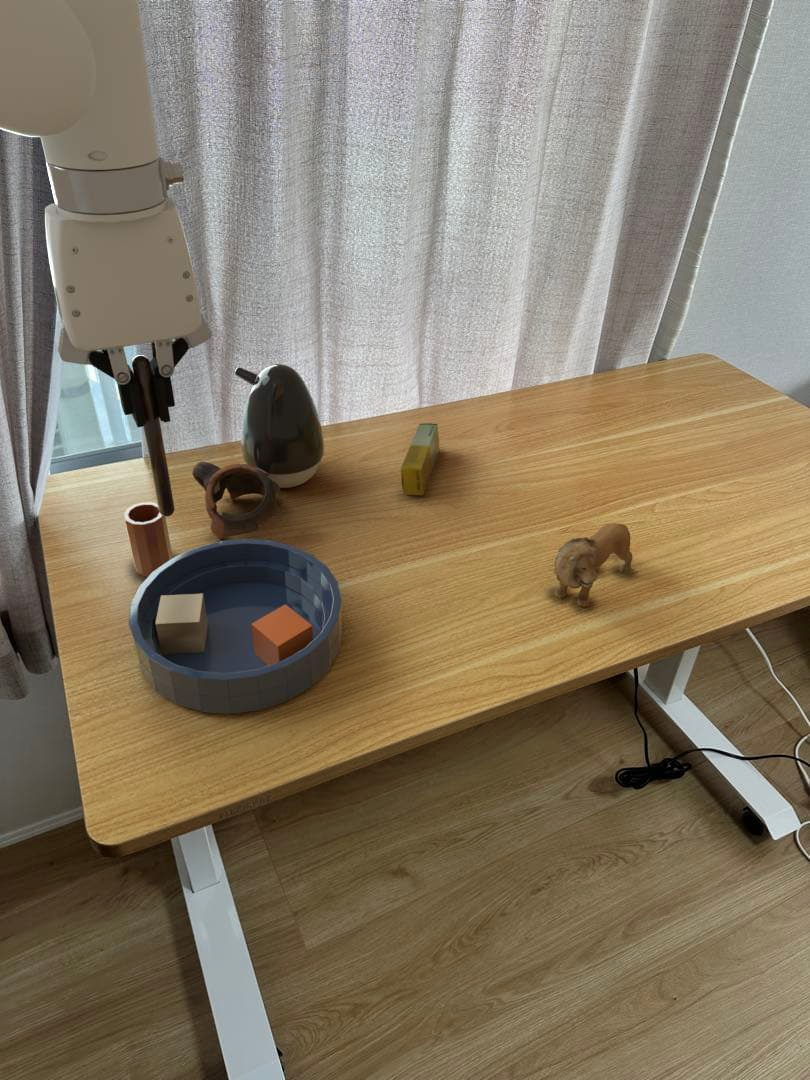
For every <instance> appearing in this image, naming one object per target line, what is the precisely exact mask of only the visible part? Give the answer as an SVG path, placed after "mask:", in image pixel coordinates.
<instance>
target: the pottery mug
mask: <svg viewBox="0 0 810 1080" xmlns="http://www.w3.org/2000/svg"><path fill="white" fill-rule="evenodd" d="M191 474H192V476H193V479H195V481H196V482H197V483H198V484H199V485H200V486H201V487H202V488H203V489H204V491H205V494H204V503H205V508H206V512H207V515H208V517H209V518H210V519H211V523H210V527H209V528H210V530H211V533H212V534H213V535H214V536H216V537H217V538H219V539H220V540H222V539H224V538H225V537H227V538H228V537H236V536H241V535H246V534H249V533H252V532H256V531H258V530H259V526H260V527H263V526H265V525H266V524H267V523H268V521H269V520H270V519H271V518H272V517H273V516H275V514H279V513H280V512H281V509H280V508H279V507H280V506H279V505H278V503H277V501H276V499H277V495H278V494H279V492H280V491H281V488H280V487H279V485H278V484H277V483H275V482H274V481H273V480H271V479H270V478H268V477H267V476H269V474H268V473H267V472H265V471H264V470H262V469H259V468H256V467H254V466H251V465H247V464H246V463H233V464H229V465H225V466H223V467H220V466H218V465H215V464H214V463H211V462H207V461H199V462H197V463H196V464H195V466H193V468H192V473H191ZM226 490H227V493H228V494H229V498H230V500H232V501H234V500H236V499H237V498H240V497H243V496H245V495H254V494H255V495H260V496H262V497H263V499H262V500H261V502H260V503H259V505H257V507H256V508H255V509H252V511H249V512H245V513H243V514H231V513H227V512H224V511H222V513H221V514H220V513H219V512H218V506H217V503H218V502H219V501H221V500H222V499H223V497H224V493H225V491H226Z"/></svg>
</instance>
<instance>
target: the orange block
mask: <svg viewBox="0 0 810 1080" xmlns="http://www.w3.org/2000/svg"><path fill="white" fill-rule="evenodd" d="M252 633H253V642H254V651H255V655H256V656H258V657H259V658H260V659H261V660H262V661H263V662H264V663H266V664H267V665H268V666H269V665H272V664H275V663H278V662H281V661H283V660H285V659H287V658H288V657H290V656H292V655H294V654H295V653H297V652H299V651H301V650H302V649H304V648H305V647H306V646H308V645H309V644H310V643H311V642H312V641H313V630H312V625H311V624H310V623H308V622H307V621H306V620H305V619H303V618H302V617H301V616H300V615H298V614H297V613H296V612H295V611H293V610H292V609H291V608H290V607H288V606H287V605H286V604H285V605H284V606H282V607H280V608H278V609H277V610H275V611H273V612H271V613H270V614H268V615H266V616H264V617H263V618H261V619H259V620H257V621H256V622H254V623H252Z"/></svg>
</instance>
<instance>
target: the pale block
mask: <svg viewBox="0 0 810 1080" xmlns="http://www.w3.org/2000/svg"><path fill="white" fill-rule="evenodd" d="M155 625H156V630H157V634H158V639H159V644H160V649H161V653H162V654H180V653H199V652H205V644H206V636H207V628H208V620H207V614H206V608H205V601H204V595H203V594H184V595H161V598H160V603H159V608H158V613H157V618H156V623H155Z"/></svg>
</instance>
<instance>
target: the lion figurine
mask: <svg viewBox="0 0 810 1080" xmlns="http://www.w3.org/2000/svg"><path fill="white" fill-rule="evenodd" d="M611 554H615V555H616V557H618V558H619V560H621V561H624V562H623V563H622V564H620V566H619V571H620V573H623V574H629V573H630V571H631V567H632V562H633V553H632V552H631V532H630V531H629V528H628V527H627V525H625V524H623V523H618V522H610V523H606V524H604V525H602V526H601V527H600V528H599V529H598V530H597V531H596V532H595V533H593V534H592V535H590V536H589V537H586V536H585V537H576V538H572V539H570V540H568V541H566V542H565V543H564V544H563V545H562V546H560V548H559V549H558V553H557V554H556V556H555V560H554V565H553V567H554V569H553V571H554V573H553V574H555V576H556V580H557V581H558V582H559V587H558V588H555V589H554V591H553V592H554V593H553V594H554V596H555V597H556V598H558V599H563V598H564V597H566V595H567V594H568V588H570V589H580V590H579V593H578V594H577V598H578V599H577V600H576V603H577V605H578V606H579V607H582V608H586V607H587V608H588V607H589V606H590V601H589V599H590V591H591V589H592V588H593V585H594V582H596V581H597V580H598V579H599V576H598V574H597V573H596V572H597V570H598V569H600V567H602V565H604V564H605V563H606V562H607V561H608V560H609V558H610V556H611Z"/></svg>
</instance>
